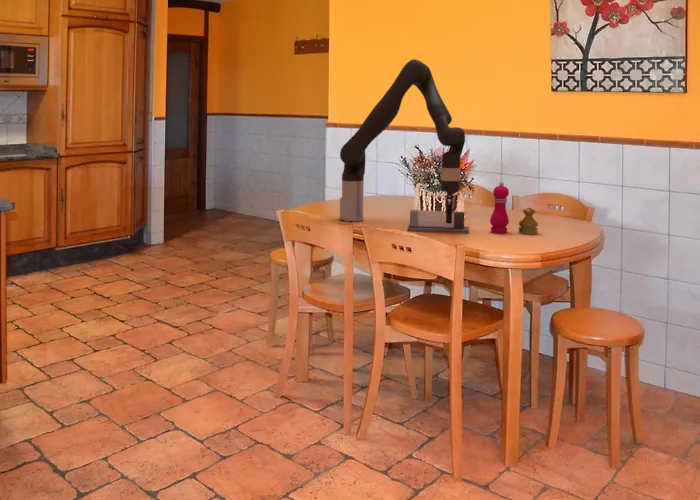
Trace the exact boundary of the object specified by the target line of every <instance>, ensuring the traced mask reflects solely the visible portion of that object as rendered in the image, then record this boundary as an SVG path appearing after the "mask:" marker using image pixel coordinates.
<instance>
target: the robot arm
mask: <svg viewBox="0 0 700 500" xmlns="http://www.w3.org/2000/svg"><path fill="white" fill-rule="evenodd" d="M412 86H415V87H416V88H417V89H418V91H420V93H421V95H422V96H423V99H424V101H425V104H426V105H425V106H426V109H427V112H428V114H429V116H430V118H431V120H432V121H433V124H434V126H435V130H436V131H435V132H436V136H437V139H438V141H439V143H440V144H441V145H442V146H445V147H449V149H448V150H447V151H446V152H444V153H442V155H441V156H442V157H441V170H440V191H441V192H444V193H446V195H444V208H445V211H446V223H452V213H453V211H454V208H455V201H456V195H454V193H457V192H460V189H461V155H462V152H463V150H464V146H465V143H466V135H465V134H466V133H465V131H464V129H463V128H461V127H455V126H454V127H450V126H449V125H450V124H451V123H452V121H453V117H452V115H451V113H450V112H449V110H448V107H447V106H446V105H445V102H444V101H443V99H442V97H441V95H440V92H439V91H438V88H437V86H436V84H435V80H434V77H433V74H432V71H431V69H430V67H429V66H428V65H427V64H426V63H424V62H423V61H420V60H419V59H415V58H414V59H411V60H408V61H407V63H405V64H404V65H403V67H402V69H401V70H400V72H399V74H398V75H397V77H396V78H395V80H394V81H393V83H392V84H391V85H390V87H389V89H387V90H386V92H385V93H384V95H383V96H382V97H381V99H380V100H379V101H378V102H377V103H376V104H375V106H373V109H371V111H370V112H369V114H368V115H367V117H366V118H365V120H363V122H362V124H361V125H360V127H359V128H358V129H357V131H356V132H355V133H354V135H352V136H351V138H350V139H349V140H348V141H346V143H345V144H344V145H342V147H341V148H340V151H339V157H340V159H341V161H342V163H343V172H342V174H341V197H340V198H339V220H340V219H341V220H340V221H343V220H344V222H350V221H353V222H362V221H364V190H365V189H364V182H365V181H364V177H365V173H366V149H367V148H368V147H369V146H370V144H371V143H372V142H373V141H374V140H375V139H376V138H378V136H380V134H382V133H383V132H384V131H385V130H386V129H387V128H388V127H389V126H390V124H392V122H393V121H394V119H395V118H396V117H397V115H398V113H399V110H400V108H401V104H402V103H403V99H404V96H405V95H406V93H407V92H408V91H409V90H410V89H411V87H412Z"/></svg>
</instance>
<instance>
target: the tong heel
mask: <svg viewBox="0 0 700 500" xmlns="http://www.w3.org/2000/svg"><path fill="white" fill-rule="evenodd" d="M419 210H420V209H411V210H410V211H409V224H410V227H417V226H418V215H419Z"/></svg>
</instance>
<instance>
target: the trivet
mask: <svg viewBox="0 0 700 500" xmlns="http://www.w3.org/2000/svg"><path fill="white" fill-rule="evenodd" d="M407 232H413V233H415V232H416V233H444V234H462V235H463V234H464V235H465V234H467V235H469V234H470V226H465V225H464V228H447V227H419V226H417V227H410V223H409V224H408V227H407Z"/></svg>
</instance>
